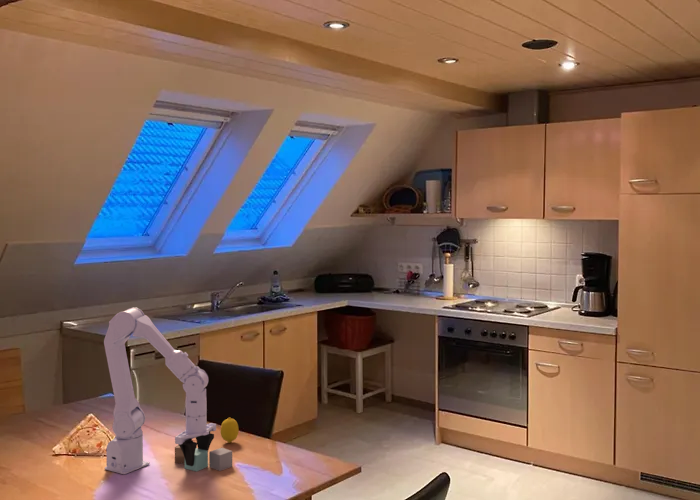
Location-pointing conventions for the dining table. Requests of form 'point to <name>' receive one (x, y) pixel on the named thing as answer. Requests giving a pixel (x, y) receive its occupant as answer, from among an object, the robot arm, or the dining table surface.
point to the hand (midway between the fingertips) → (196, 462)
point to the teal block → (199, 460)
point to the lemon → (229, 430)
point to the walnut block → (179, 455)
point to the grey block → (220, 459)
